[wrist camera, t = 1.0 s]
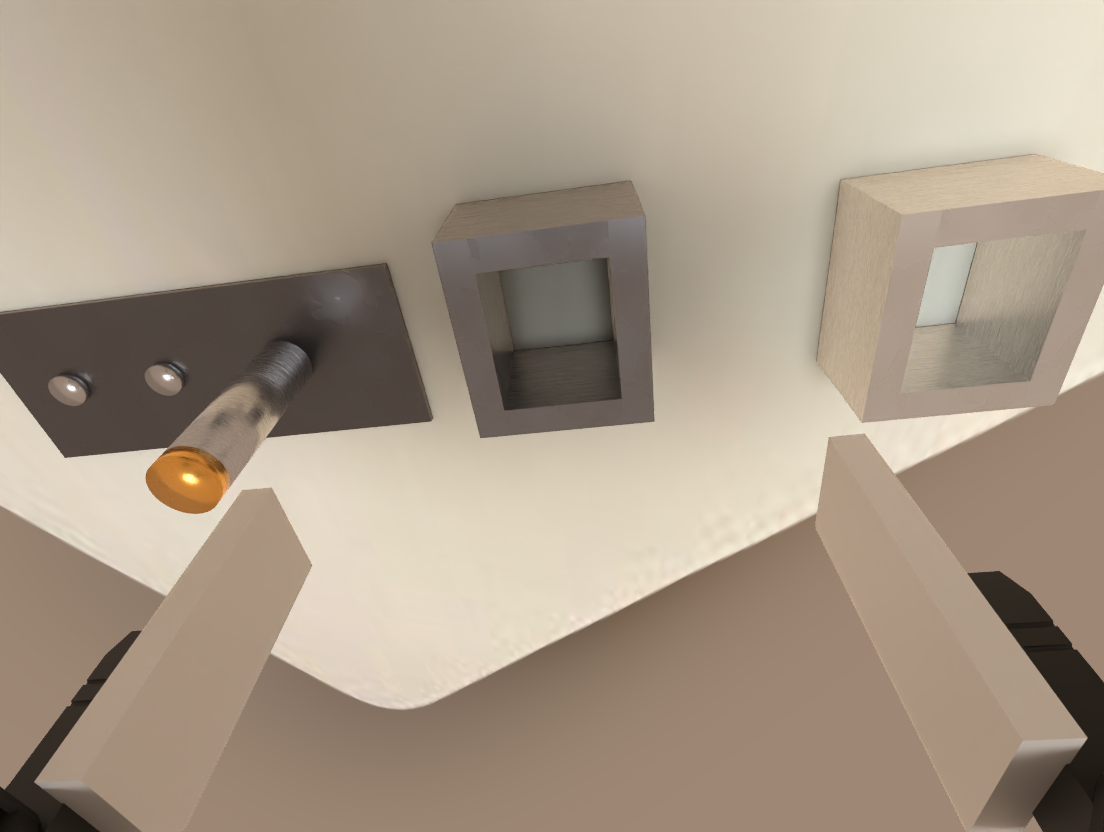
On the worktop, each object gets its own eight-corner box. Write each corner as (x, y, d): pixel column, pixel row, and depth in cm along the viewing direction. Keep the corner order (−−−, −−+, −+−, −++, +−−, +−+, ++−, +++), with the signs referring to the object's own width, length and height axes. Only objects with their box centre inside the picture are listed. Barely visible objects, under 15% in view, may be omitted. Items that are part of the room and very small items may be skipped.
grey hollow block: (455, 204, 23) (431, 243, 19) (631, 180, 23) (645, 215, 18) (493, 376, 28) (480, 438, 24) (641, 360, 27) (654, 421, 23)
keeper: (-35, 316, 27) (-274, 432, 19) (386, 263, 25) (306, 368, 17) (69, 454, 31) (-92, 592, 23) (432, 417, 29) (385, 555, 22)
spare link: (840, 179, 22) (902, 214, 18) (1034, 154, 22) (1144, 184, 18) (816, 361, 27) (861, 422, 23) (977, 344, 26) (1054, 404, 22)
